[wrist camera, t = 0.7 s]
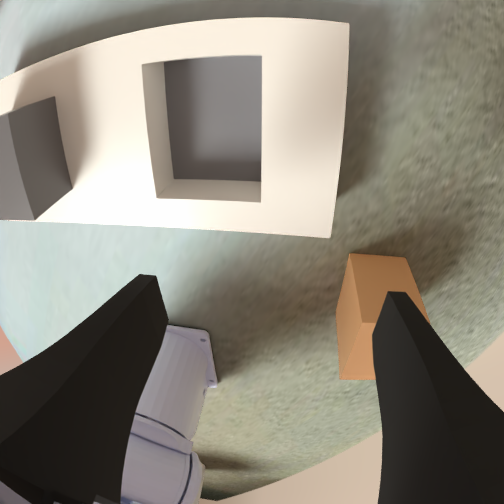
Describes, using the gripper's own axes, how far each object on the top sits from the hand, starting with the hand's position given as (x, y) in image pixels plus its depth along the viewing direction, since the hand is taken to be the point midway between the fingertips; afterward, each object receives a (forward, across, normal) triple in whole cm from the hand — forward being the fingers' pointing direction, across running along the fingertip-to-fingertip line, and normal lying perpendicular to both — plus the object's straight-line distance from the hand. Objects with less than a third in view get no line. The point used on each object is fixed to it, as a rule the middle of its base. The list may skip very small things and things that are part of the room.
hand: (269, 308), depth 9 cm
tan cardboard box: (+10, -6, +7) cm, 14 cm away
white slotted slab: (+10, +8, -4) cm, 13 cm away
